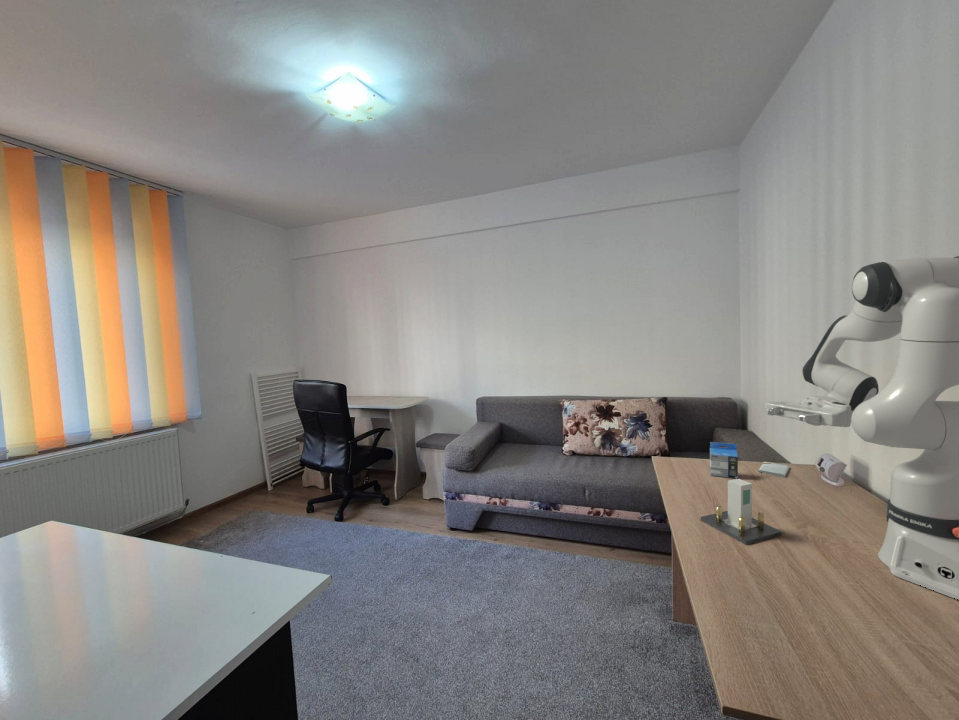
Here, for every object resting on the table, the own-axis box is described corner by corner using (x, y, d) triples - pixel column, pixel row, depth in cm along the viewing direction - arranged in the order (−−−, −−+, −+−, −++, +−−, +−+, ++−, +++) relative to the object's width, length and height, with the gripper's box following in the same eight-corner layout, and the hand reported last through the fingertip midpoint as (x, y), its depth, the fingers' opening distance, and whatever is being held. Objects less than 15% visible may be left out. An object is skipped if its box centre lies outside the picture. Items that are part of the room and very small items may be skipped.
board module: (751, 525, 107) (752, 483, 107) (740, 528, 106) (741, 486, 105) (738, 518, 111) (738, 478, 110) (727, 521, 110) (727, 480, 109)
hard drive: (785, 474, 142) (789, 465, 150) (757, 469, 147) (763, 461, 156) (784, 479, 142) (789, 469, 151) (757, 474, 148) (763, 465, 156)
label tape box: (710, 475, 146) (710, 444, 145) (709, 472, 150) (709, 441, 149) (737, 479, 142) (738, 446, 141) (736, 475, 146) (736, 443, 145)
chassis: (781, 535, 104) (782, 517, 104) (745, 544, 100) (745, 526, 100) (734, 512, 118) (734, 496, 117) (700, 520, 114) (700, 503, 113)
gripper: (782, 395, 128) (751, 399, 124) (857, 406, 109) (823, 411, 105) (782, 414, 129) (751, 418, 125) (857, 428, 109) (823, 433, 105)
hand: (784, 415), depth 114 cm, fingers open, 8 cm apart
